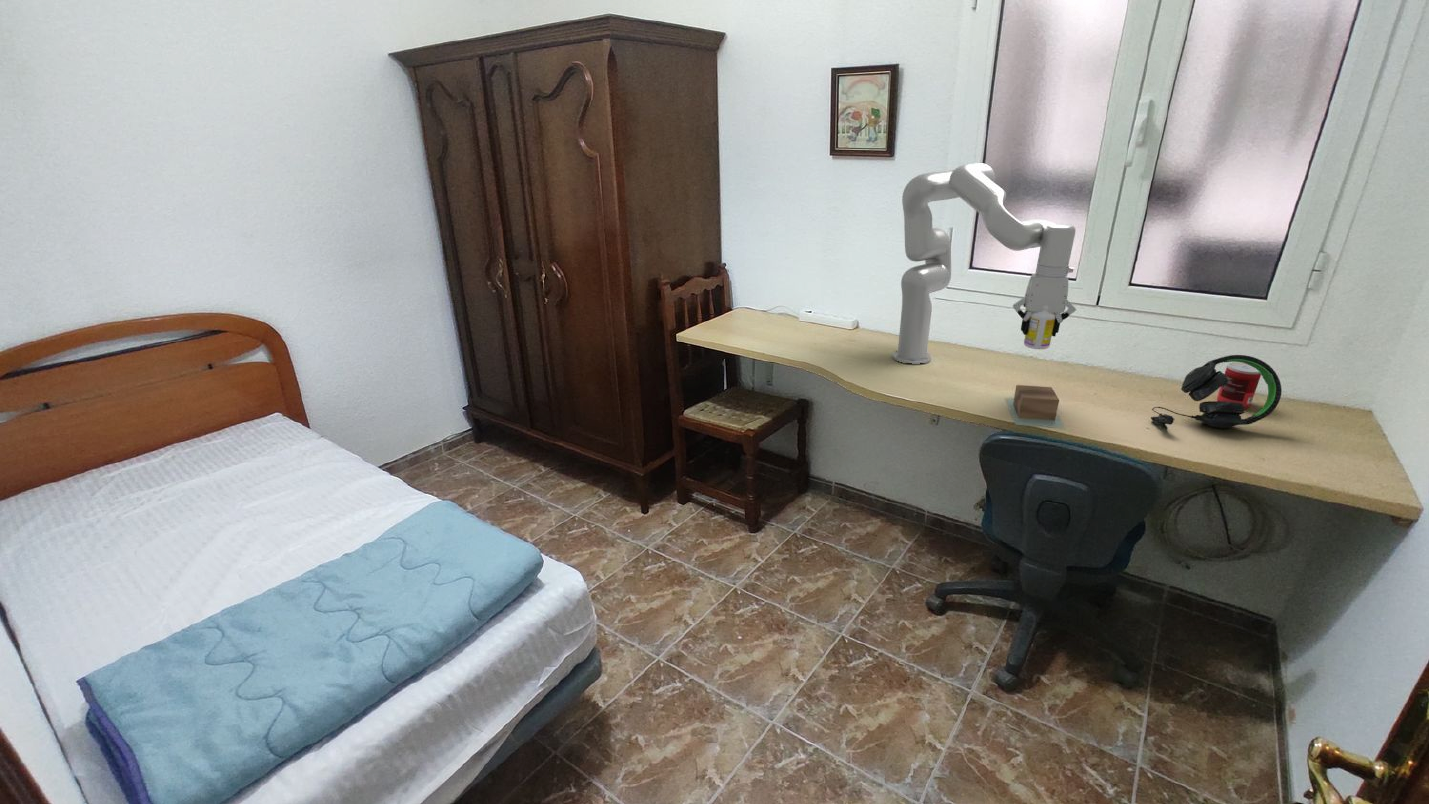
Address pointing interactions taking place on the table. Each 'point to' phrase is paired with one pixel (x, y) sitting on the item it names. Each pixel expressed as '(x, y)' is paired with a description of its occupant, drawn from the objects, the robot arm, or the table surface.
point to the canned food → (1239, 384)
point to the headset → (1224, 412)
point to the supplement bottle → (1040, 329)
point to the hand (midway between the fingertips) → (1038, 333)
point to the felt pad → (1032, 422)
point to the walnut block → (1035, 402)
